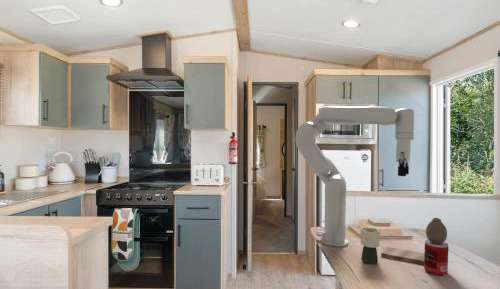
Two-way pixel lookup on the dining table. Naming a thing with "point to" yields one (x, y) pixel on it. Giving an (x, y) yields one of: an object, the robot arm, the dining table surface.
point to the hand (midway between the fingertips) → (403, 175)
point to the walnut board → (403, 255)
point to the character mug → (370, 244)
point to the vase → (436, 231)
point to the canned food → (436, 258)
